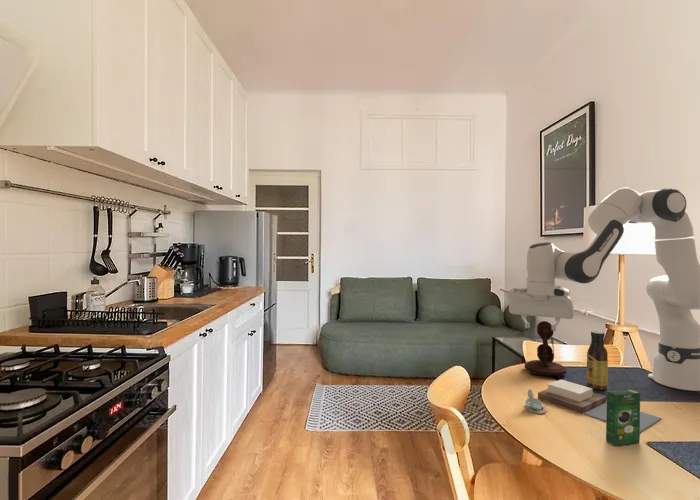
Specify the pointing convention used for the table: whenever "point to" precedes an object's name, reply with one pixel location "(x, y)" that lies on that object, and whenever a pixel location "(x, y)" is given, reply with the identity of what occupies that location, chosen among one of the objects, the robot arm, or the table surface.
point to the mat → (601, 414)
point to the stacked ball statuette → (545, 354)
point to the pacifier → (534, 403)
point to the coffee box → (623, 417)
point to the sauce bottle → (597, 362)
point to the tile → (570, 390)
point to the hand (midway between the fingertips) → (540, 329)
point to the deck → (572, 401)
